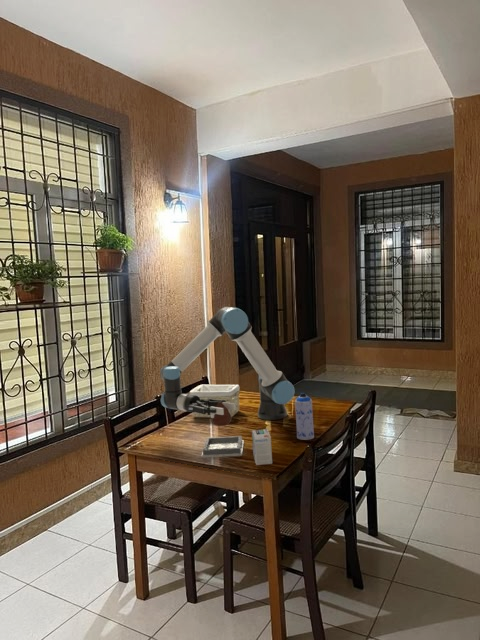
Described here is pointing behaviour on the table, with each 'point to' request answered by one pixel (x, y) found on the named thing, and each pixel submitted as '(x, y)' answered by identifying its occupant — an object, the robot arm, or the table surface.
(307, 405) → the aerosol can
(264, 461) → the light bulb box
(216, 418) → the poop emoji
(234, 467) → the table surface
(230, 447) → the mousse holder
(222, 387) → the storage basket
